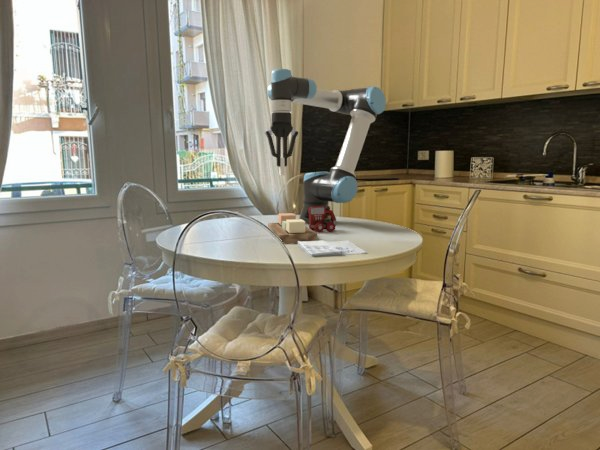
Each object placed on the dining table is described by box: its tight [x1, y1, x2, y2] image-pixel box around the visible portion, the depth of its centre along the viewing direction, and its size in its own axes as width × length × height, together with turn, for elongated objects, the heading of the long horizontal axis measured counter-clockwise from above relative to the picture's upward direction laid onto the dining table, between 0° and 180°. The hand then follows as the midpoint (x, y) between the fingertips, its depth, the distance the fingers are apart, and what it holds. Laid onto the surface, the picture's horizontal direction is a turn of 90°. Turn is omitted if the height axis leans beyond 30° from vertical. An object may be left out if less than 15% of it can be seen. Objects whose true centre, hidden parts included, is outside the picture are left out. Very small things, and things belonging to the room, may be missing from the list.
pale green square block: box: [282, 221, 286, 230], centre depth 169 cm, size 6×6×4 cm
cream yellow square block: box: [286, 218, 306, 233], centre depth 161 cm, size 6×6×4 cm
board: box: [267, 221, 318, 244], centre depth 169 cm, size 14×26×3 cm, turn 13°
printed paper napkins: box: [297, 239, 368, 257], centre depth 147 cm, size 19×20×2 cm
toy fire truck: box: [308, 205, 337, 234], centre depth 179 cm, size 7×12×10 cm, turn 113°
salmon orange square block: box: [277, 212, 297, 226], centre depth 176 cm, size 6×6×4 cm
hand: (281, 175), depth 168 cm, fingers closed
